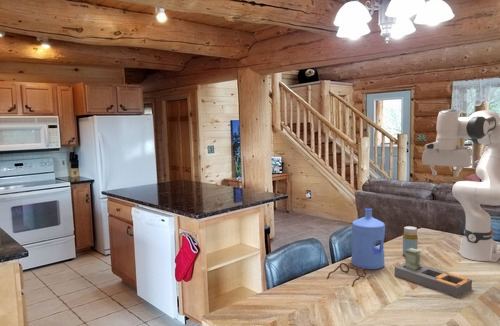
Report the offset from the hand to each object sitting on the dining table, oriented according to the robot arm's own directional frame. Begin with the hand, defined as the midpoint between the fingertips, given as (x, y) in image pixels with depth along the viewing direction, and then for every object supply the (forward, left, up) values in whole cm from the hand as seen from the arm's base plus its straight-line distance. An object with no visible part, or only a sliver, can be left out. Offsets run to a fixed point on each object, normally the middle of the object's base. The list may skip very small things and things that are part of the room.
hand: (445, 175), depth 176 cm
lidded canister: (-8, -21, -45) cm, 51 cm away
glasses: (+41, -22, -46) cm, 66 cm away
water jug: (+19, -27, -45) cm, 56 cm away
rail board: (+15, +3, -45) cm, 48 cm away
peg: (+15, -6, -45) cm, 48 cm away
